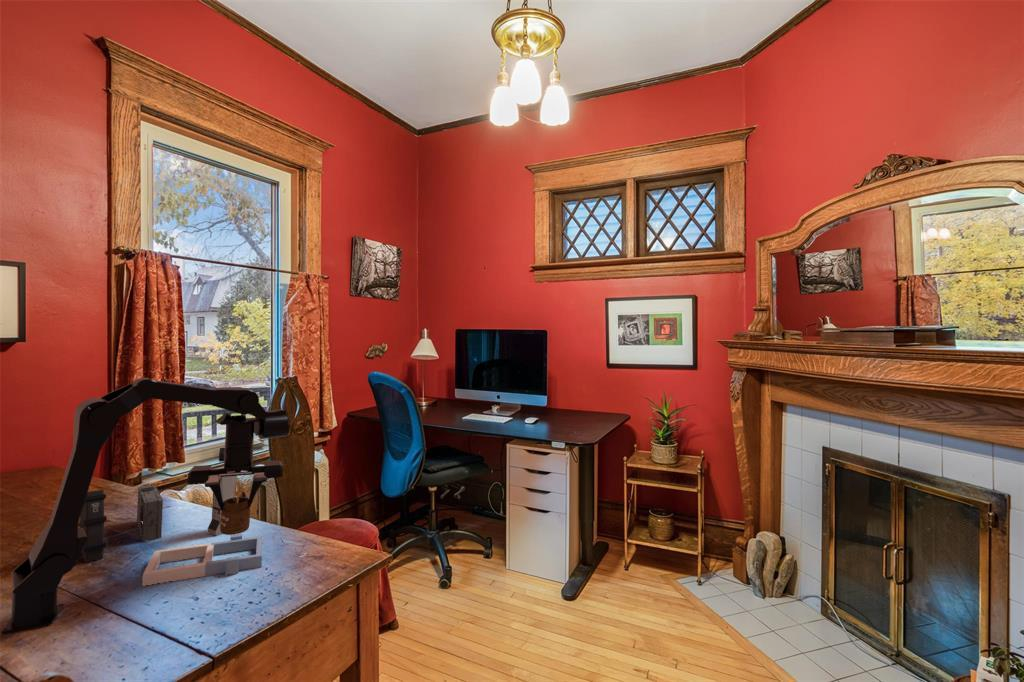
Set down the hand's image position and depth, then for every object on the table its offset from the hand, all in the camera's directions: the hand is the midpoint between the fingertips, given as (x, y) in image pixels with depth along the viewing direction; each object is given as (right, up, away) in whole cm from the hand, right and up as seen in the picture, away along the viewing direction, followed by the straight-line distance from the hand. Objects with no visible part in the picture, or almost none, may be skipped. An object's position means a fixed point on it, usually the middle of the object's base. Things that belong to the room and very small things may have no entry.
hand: (235, 508), depth 107 cm
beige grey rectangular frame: (-5, -12, -2) cm, 13 cm away
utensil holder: (0, -5, 0) cm, 5 cm away
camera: (-32, -11, +14) cm, 36 cm away
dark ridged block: (-35, -11, +1) cm, 37 cm away
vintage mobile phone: (-13, -12, +15) cm, 23 cm away
